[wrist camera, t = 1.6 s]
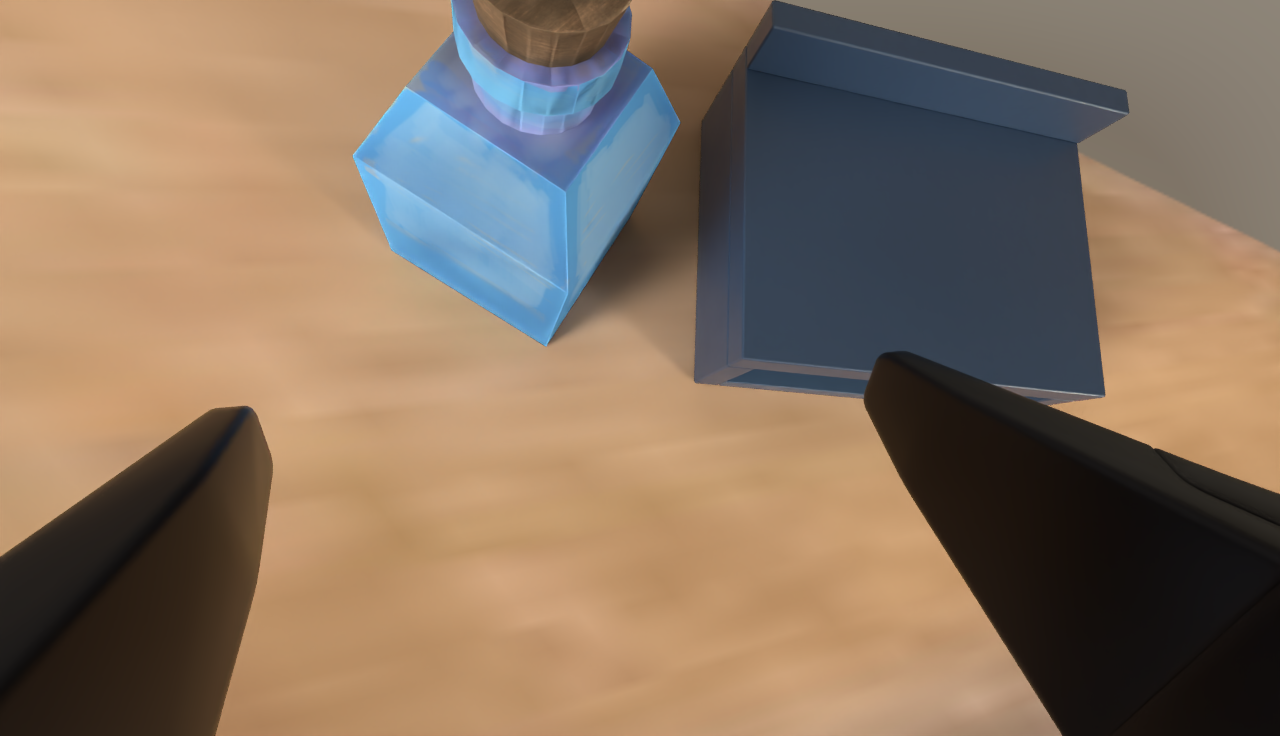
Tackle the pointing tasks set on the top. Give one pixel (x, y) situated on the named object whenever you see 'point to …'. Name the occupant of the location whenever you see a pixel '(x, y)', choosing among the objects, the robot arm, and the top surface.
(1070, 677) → the robot arm
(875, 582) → the top surface
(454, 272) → the perfume bottle
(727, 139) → the riser shelf
